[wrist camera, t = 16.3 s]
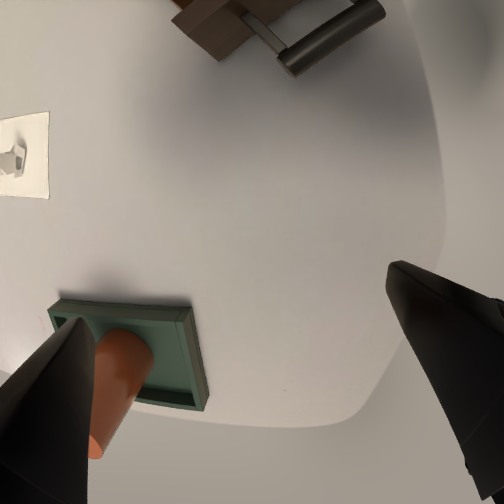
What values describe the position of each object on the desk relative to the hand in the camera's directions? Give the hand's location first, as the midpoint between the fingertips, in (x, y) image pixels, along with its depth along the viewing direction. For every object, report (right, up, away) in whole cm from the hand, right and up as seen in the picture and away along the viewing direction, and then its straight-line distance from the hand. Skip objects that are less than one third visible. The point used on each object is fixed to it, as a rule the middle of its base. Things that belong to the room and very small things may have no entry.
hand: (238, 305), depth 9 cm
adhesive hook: (-21, +10, +13) cm, 26 cm away
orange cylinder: (-10, -7, +17) cm, 21 cm away
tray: (-10, -7, +17) cm, 21 cm away
